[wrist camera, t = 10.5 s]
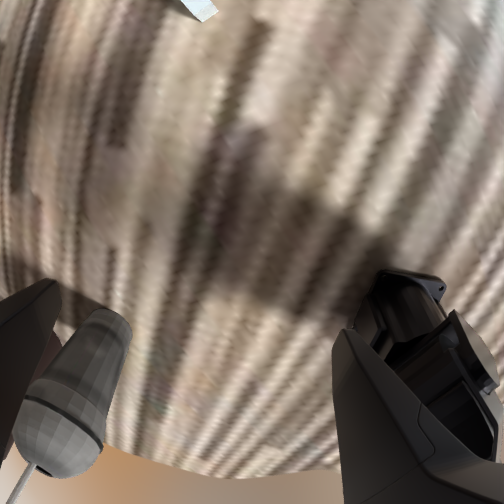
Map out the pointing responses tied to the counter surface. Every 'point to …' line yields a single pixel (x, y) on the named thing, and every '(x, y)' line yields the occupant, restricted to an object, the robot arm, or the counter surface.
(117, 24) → the counter surface
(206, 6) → the acrylic strip
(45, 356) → the bottle
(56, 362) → the beverage cup
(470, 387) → the robot arm
